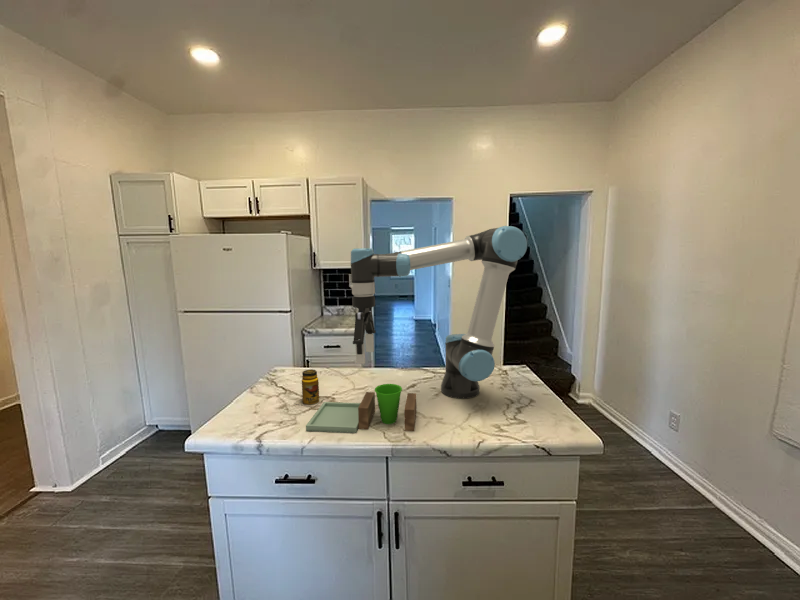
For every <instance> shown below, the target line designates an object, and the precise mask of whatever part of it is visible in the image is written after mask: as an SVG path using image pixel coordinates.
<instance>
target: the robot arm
mask: <svg viewBox="0 0 800 600" xmlns="http://www.w3.org/2000/svg"><path fill="white" fill-rule="evenodd" d="M527 249H528V240H527V238H526V235H525V234H524V231H522V230H521V229H520V228H518V227H516V226H512V225H510V226H509V225H508V226H507V225H502V226H499V227H496V228H495V227H494V228H490V229H487V230H484V231H481V232H479V233H475V234H471V235H467V236H465V238H464V239H459V240H454V241H449V242H444V243H443V242H442V243H438V244H432V245H427V246H422V247H415V248H411V249H407V250H406V249H405V250H401V251H396V252H390V253H379V254H378V253H375V252H374V249H373V248H372V247H369V248H368V247H366V248H365V247H364V248H362V247H361V248H353V249H352V250H351V251H350V273H351V275H350V276H351V285H349V287H350V289H351V294H352V295H353V296H352V297H351V298H352V299H351V302H352V306H351V307H353V308H355V309H358V311H357V312H355V314H354V315H355V320H354V331H353V332H354V333H353V341H352V344H353V345H355V361H356V362H355V363H356V364H357V365H358V364H359V365H362V364H363V365H365V364H366V356H365V355H366V353H374V351H375V347H374V334H376V331H377V330H375V329H376V328H375V322H374V315H373V308H374V307H375V306H376V298H375V297H376V296H375V293H376V289H375V287H376V285H375V284H376V283H375V278H380V277H386V278H387V277H389V278H391V277H400V278H401V277H406V276H409V275H410V272H411V271H413V270H419V269H423V268H424V269H425V268H428V267H433V266H440V265H444V264H451V263H455V262H460V261H465V260H467V261H468V260H469V262H474V261H481V263H482V266H483V268H484V269H483V272H482V275H481V281H480V283H479V287H478V292H477V295H476V299H475V302H474V306H473V311H472V314H471V318H470V323H469V326H468V329H467V332H466V333H454V334H452V333H451V334H448V335H447V336H446V337H445V343H444V344H445V373H444V375H443V378H442V381H441V385H440V390H441V393H442V394H443V395H445V396H447V397H450V398H454V399H470V398H471V399H472V398H475V397H477V396H478V395H480V384H479V382H482V381H484V380H486V379H488V378H489V377H490V376H491V375H492V373H493V372H494V370H495V366H496V365H495V364H496V362H495V358H494V357H493V352H494V348H495V343H494V342H493V340H492V339H493V335H494V331H495V327H496V324H497V320H498V315H499V312H500V309H501V306H502V303H503V298H504V294H505V291H506V287H507V282H508V279H509V275H510V274H511V273H512V272H514V271H515V270H516V268H517V265H518V260H521V258H523V257H524V255H525V254H526V252H527ZM364 342H365V343H364Z"/></svg>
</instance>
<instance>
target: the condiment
mask: <svg viewBox="0 0 800 600" xmlns="http://www.w3.org/2000/svg"><path fill="white" fill-rule="evenodd" d="M301 374H302V376H301V377H302V378H301V395H302V398H301V399H299V400H298V401H296V402H295V403H294V405H299V406H304V407H305V406H306V407H313V408H314V407H315V406H317V405H318V404H320V403H321V402H322V401H323V400H324V398H320V391H319V390H320V385H319V378H318V371H317V370H316V369H313V368H312V369H305V370H303V371H302V373H301Z"/></svg>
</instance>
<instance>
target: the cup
mask: <svg viewBox="0 0 800 600" xmlns="http://www.w3.org/2000/svg"><path fill="white" fill-rule="evenodd" d="M374 392H375V394H376V395H375V396H376V400H377V404H378V405H377V406H378V411H379V415H380V416H379V417H380V420H381V422H382V423H383V424H386V425H392V424H395V423H396V422H397V420H398V414H399V407H400V402H401V394H402V392H403V387H402V386H401V385H399V384H395V383H383V384H379V385H376V386H375V388H374Z"/></svg>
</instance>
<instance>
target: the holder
mask: <svg viewBox="0 0 800 600" xmlns="http://www.w3.org/2000/svg"><path fill="white" fill-rule="evenodd" d="M375 394H376V392H375V391H366V392H365V394H364V396H363V397H362V399H361V402H359V403H360V405H359V407H358V420H359V428H358V430H369V428H370V425H371V423H372V421H373V418H374V415H375V413H376V395H375ZM404 404H405V405H404V410H403V411H404V413H403V414H404V431H405V432H415V428H416V419H417V414H418V413H417V411H418V410H417V409H418V408H417V393H415V392H414V393H413V392H411V393H409V392H408V393H407V395H406V400H405V403H404Z"/></svg>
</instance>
